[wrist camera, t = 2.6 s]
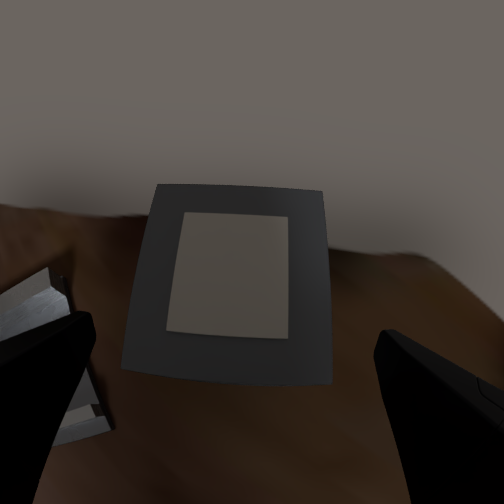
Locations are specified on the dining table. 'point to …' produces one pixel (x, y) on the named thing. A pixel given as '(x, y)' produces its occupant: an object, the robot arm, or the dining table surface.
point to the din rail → (41, 312)
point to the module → (232, 287)
